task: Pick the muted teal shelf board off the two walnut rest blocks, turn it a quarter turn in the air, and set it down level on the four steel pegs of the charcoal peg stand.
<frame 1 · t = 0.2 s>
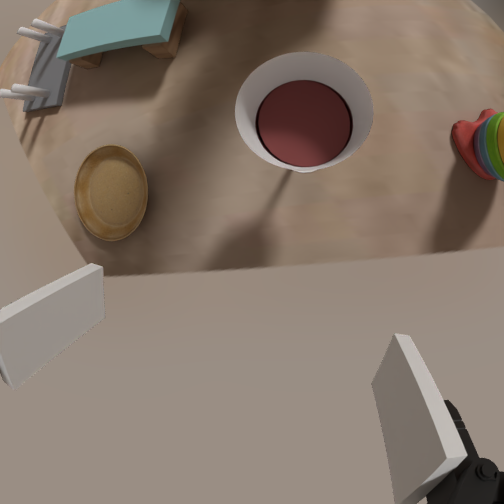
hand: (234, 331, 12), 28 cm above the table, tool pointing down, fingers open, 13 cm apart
wineglass: (303, 144, 35), on the table
rest blocks: (132, 38, 34), on the table
stacking bear: (483, 147, 30), on the table
shelf board: (116, 28, 29), point 5 cm above the table, touching rest blocks
plant saucer: (117, 191, 42), on the table
peg stand: (52, 66, 37), on the table
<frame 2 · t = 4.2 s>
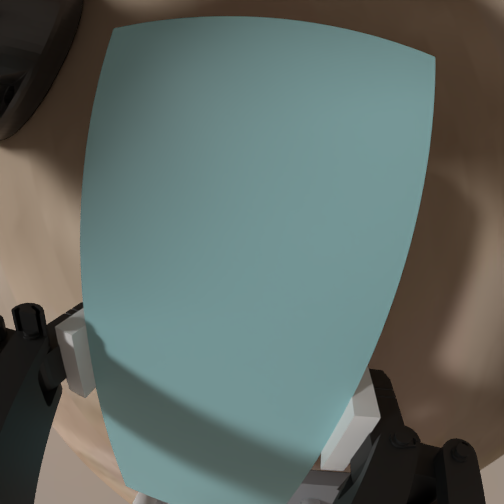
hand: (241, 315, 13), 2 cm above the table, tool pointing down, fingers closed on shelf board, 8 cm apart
shelf board: (223, 355, 10), point 5 cm above the table, touching gripper, rest blocks
peg stand: (235, 488, 20), on the table
when the fingers open (8 cm above the table, at t = 9.9 s): shelf board stays where it is, resting on peg stand.
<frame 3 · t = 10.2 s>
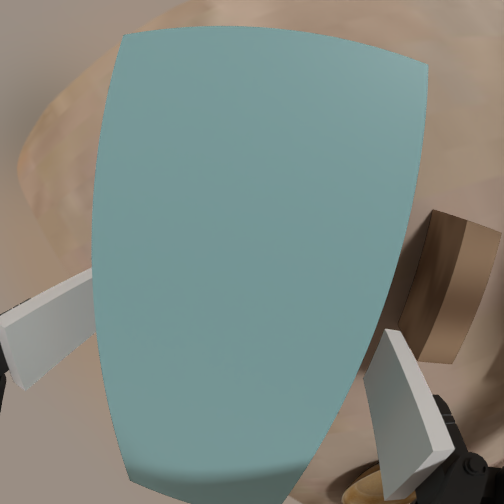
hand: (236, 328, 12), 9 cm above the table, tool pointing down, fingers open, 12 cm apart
rest blocks: (498, 289, 17), on the table
shelf board: (227, 348, 10), point 10 cm above the table, touching peg stand
plant saucer: (397, 472, 25), on the table
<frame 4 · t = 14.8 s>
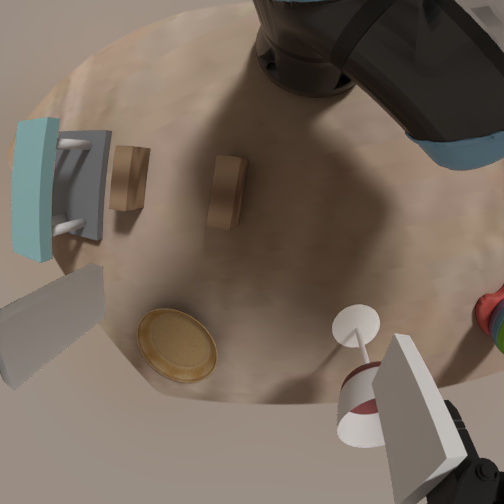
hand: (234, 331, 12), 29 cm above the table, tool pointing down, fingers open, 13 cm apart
wineglass: (356, 326, 41), on the table
rest blocks: (182, 182, 40), on the table
stacking bear: (498, 309, 36), on the table
shelf board: (36, 188, 33), point 10 cm above the table, touching peg stand
plant saucer: (180, 340, 47), on the table
peg stand: (80, 182, 43), on the table
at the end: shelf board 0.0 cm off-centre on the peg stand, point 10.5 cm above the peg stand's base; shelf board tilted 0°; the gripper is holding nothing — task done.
